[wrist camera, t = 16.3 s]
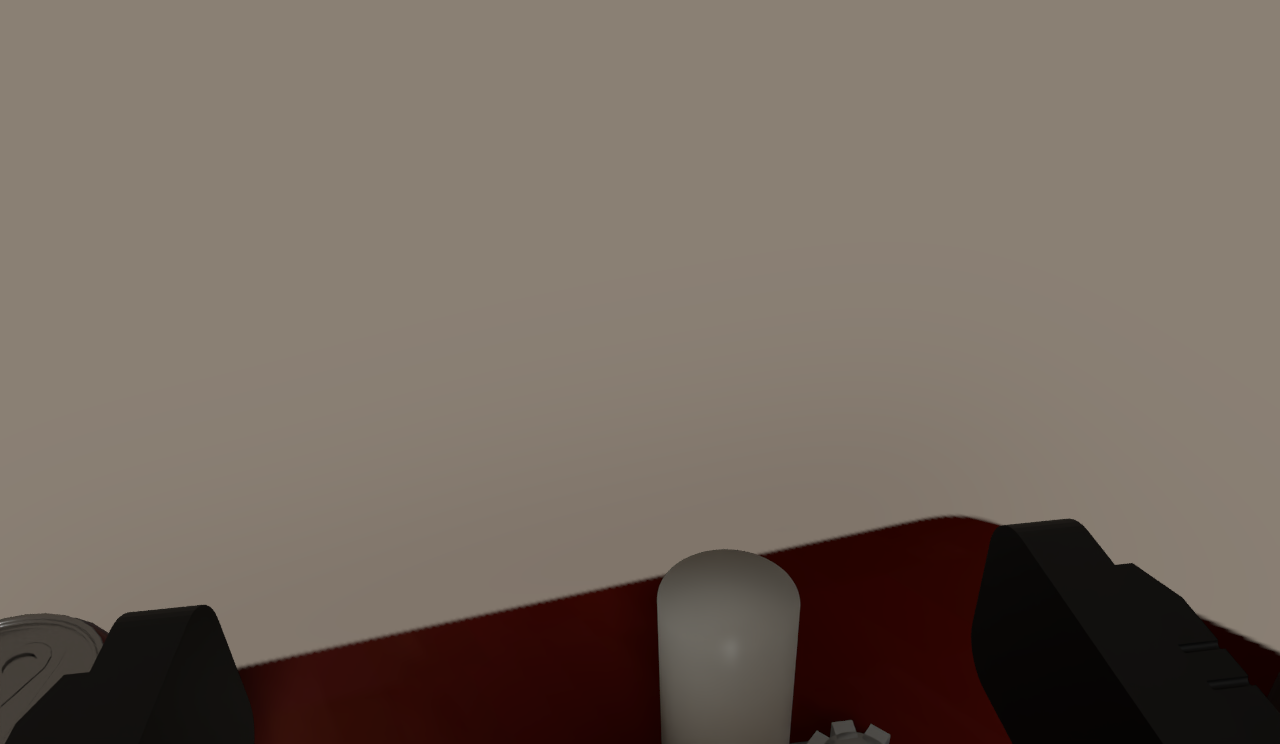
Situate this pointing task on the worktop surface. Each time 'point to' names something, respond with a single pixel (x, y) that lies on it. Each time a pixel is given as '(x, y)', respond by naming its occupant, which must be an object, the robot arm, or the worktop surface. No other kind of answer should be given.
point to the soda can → (41, 659)
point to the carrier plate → (849, 735)
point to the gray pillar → (727, 650)
